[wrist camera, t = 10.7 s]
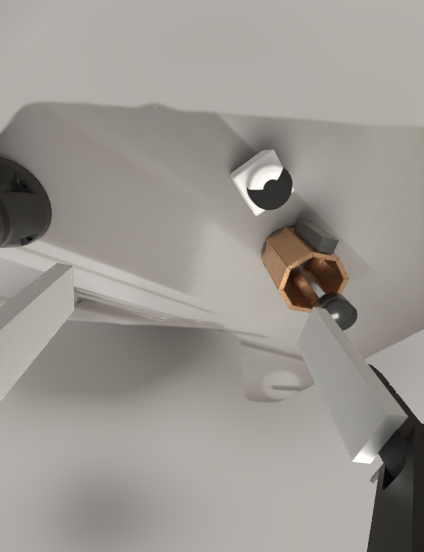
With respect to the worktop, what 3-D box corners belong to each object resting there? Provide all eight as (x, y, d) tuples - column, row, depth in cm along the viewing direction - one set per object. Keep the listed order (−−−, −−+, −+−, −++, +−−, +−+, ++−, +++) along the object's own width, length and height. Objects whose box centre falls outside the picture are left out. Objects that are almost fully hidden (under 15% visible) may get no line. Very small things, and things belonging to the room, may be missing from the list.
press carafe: (255, 270, 54) (270, 307, 41) (273, 211, 49) (298, 232, 36) (302, 279, 55) (331, 317, 43) (325, 222, 50) (365, 246, 37)
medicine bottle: (283, 185, 47) (306, 195, 36) (249, 208, 48) (262, 224, 38) (263, 148, 44) (282, 148, 33) (228, 174, 46) (236, 182, 35)
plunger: (264, 267, 53) (300, 337, 33) (276, 232, 49) (324, 286, 30) (300, 274, 53) (355, 346, 34) (313, 239, 50) (383, 297, 31)
